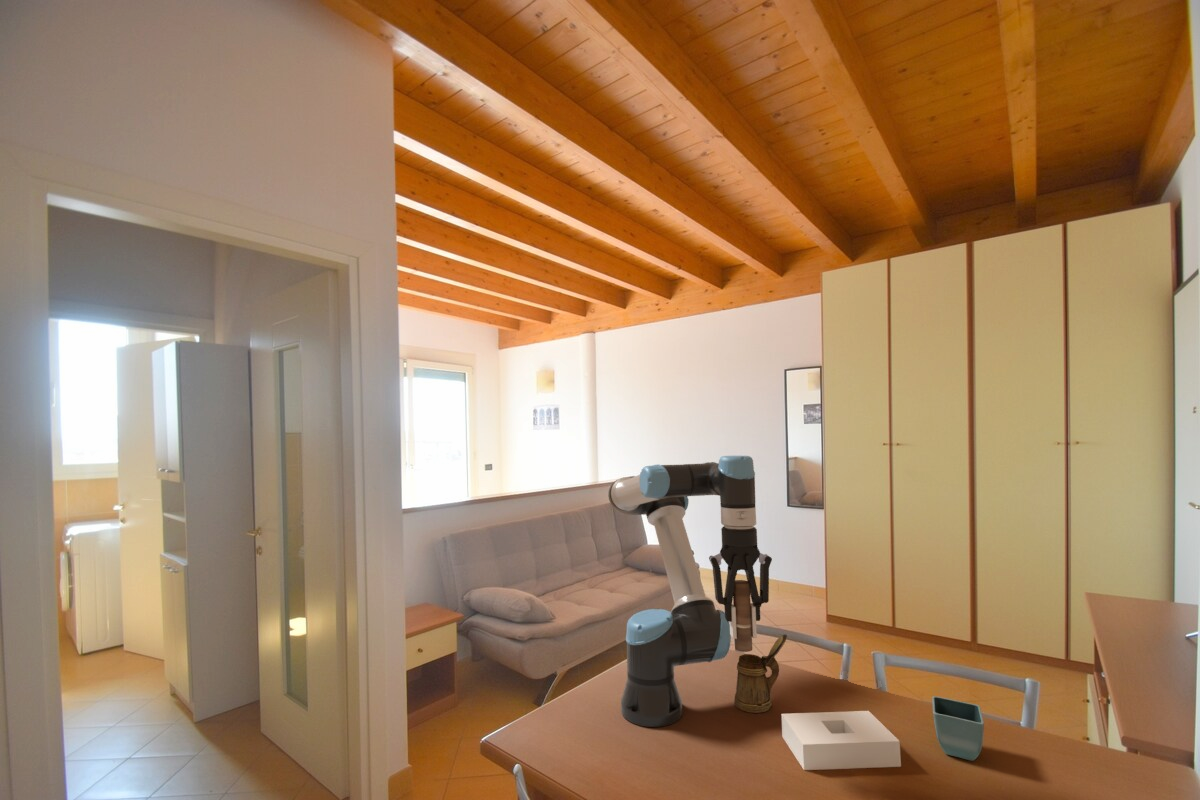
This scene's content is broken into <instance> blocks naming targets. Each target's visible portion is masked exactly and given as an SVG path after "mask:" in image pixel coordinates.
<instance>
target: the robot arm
mask: <svg viewBox="0 0 1200 800" xmlns="http://www.w3.org/2000/svg"><path fill="white" fill-rule="evenodd" d="M754 466H755V465H754V459H753V457H751V456H750V455H723V456H720V458H719V460H718V462H714V461H713V462H707V461H706V462H703V463H688V464H687V463H685V464H684V463H683V464H653V465H646V466H645V465H644V466H643V467H642V468H641V472H640V474H638V475H632V476H626V477H624V476H623V477H621V478H618V479H616V480H614V482H613V483H611V484H610V487H609V488H608V500H609V504H610V505H611V506H612V507H613V508H614V509H615V510H616V511H618V512H620V513H622V514H625V515H629V516H641V515H643V516H644V515H645V516H646V519H647V522H648V524H650V525H651V526H654V530H655V533H656V534H655V535H656V538H657V540H658V546H659V549H660V553H661V558H662V561H663V564H664V568H665V572H666V577H667V580H668V584H669V588H670V591H671V595H672V599H673V602H674V604H673V606H672V609H671V611H669V610H667V609H663V608H659V609H656V608H652V609H651V608H650V609H644V610H642V611H639V612H636V613H635V614H633V615H632V616H631V617H629V618H628V620H627V623H626V635H625V641H626V663H627V665H626V667H627V672H626V673H627V674H626V675H627V679H626V682H625V687H624V689H623V693H622V697H621V701H620V708H621V709H620V710H621V715H622V716H623V717H624V719H625V720H627V721H628V722H630V723H632V724H635V725H637V726H641V727H648V728H660V727H664V726H665V727H666V726H668V725H672V724H674V723H676V722H678V721H679V720H680V719H681V717H682V716H683V702H682V697H681V695H680V692H679V689H678V685H677V684H676V683H677V682H676V680H675V667H678V666H679V667H680V666H686V665H693V664H701V663H712V662H714V661H718V660H722V659H724V658H725V657H726V656H727V655H728V653H729V651H730V647H731V643H732V642H731V641H732V640H731V639H734V640H735V639H737V633H736V608H735V606H734V605H733V593H734V586H735V580H736V577H737V574H738V571H741V570H742V571H744V572H745V576H746V581H748V582H749V583H750V601H751V602H750V603H751V625H752V626H751V627H752V639H758V638H757V637H758V634H757V622H759V621H760V620H761V607H762V604H767V603H769V600H770V599H769V596H770V595H769V594H770V592H769V591H770V567H771V563H772V561H773V560H772V557H771V556H770V555H769V554H767V553H762V552H761V551H760V549H759V548H758V532H757V531H758V530H757V528H756V527H755V526H756V525H757V512H756V511H757V509H756V480H755V479H756V478H755V477H756V472H755V467H754ZM702 496H703V497H704V496H719V499H720V501H719V502H720V523H721V525H722V527H721V529H720V530H721V549H720V550H719V553H718V554H716V555H709V557H708V559H709V562H710V565H711V567H712V575H713V584H714V598H715V600H716V602H717V603H718V604H719V605H724V607H723V609H724V611H723V610H720V609H716V607H715V603H714V600H712V599H710V598H709V597H707V596H706V594H705V589H704V586H703V583H702V580H701V577H700V574H699V573H700V572H699V570H698V566H697V562H696V560H695V557H694V552H693V550H692V547H691V542H690V540H689V536H688V533H687V529H686V526H685V523H684V520H683V518H684V517H685V515H686V511H687V509H688V507H689V497H702ZM722 559H723V561H724V562H725V564H727V570H726V571H727V575H726V582H725V590H724V591H723V582H722V581H723V580H722V574H721V573H722V570H721V567H720V566H721V565H722ZM757 560H758V562H759V563H760V565H759V589H758V588H757V587H758V586H757V582H756V578H755V571H754V570H755V569H754V565H755V564H756V562H757ZM758 590H759V591H758ZM723 592H724V593H723Z"/></svg>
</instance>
